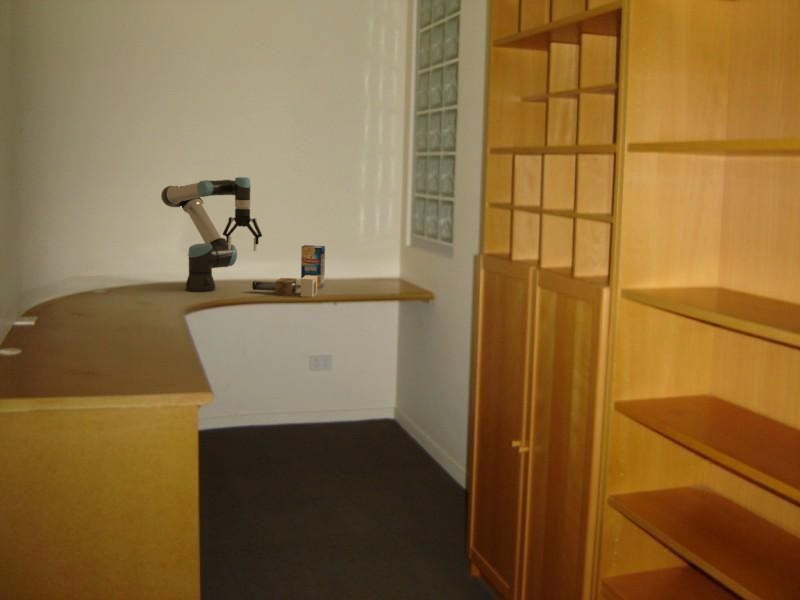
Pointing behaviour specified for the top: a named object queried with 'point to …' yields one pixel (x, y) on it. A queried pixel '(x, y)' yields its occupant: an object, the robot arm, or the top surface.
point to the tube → (268, 286)
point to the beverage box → (313, 263)
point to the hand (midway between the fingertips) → (242, 250)
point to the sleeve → (284, 287)
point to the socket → (308, 286)
